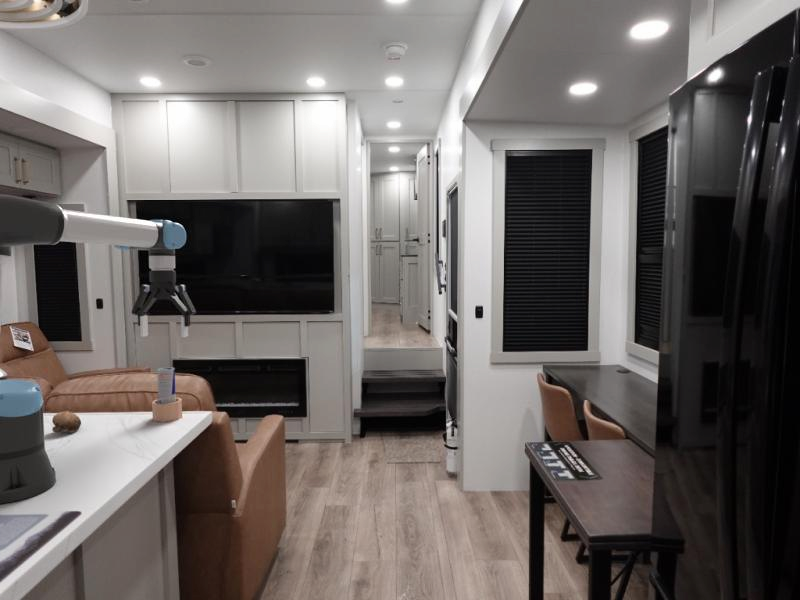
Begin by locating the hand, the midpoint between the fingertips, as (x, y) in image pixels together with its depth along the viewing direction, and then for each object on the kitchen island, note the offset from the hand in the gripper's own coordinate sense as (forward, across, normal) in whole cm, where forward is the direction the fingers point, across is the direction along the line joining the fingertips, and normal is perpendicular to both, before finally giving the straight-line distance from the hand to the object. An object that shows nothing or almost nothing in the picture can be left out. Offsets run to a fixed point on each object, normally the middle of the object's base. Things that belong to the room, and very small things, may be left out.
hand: (164, 336), depth 165 cm
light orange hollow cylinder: (+26, 0, 0) cm, 26 cm away
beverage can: (+25, 0, 0) cm, 25 cm away
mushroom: (+27, +22, +16) cm, 38 cm away
